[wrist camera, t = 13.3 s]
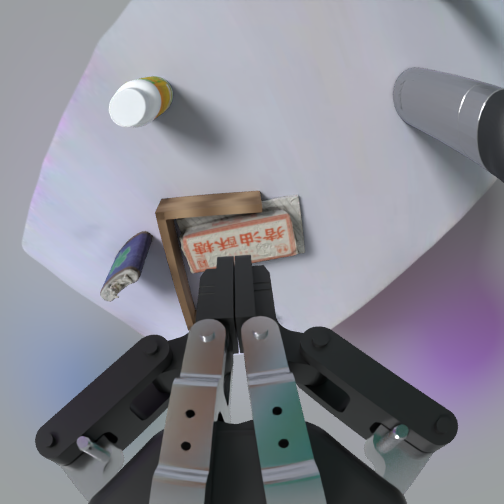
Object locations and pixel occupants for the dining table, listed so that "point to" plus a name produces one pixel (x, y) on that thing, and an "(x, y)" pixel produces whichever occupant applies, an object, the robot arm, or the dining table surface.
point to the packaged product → (244, 234)
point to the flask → (127, 265)
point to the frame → (196, 208)
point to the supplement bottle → (140, 101)
